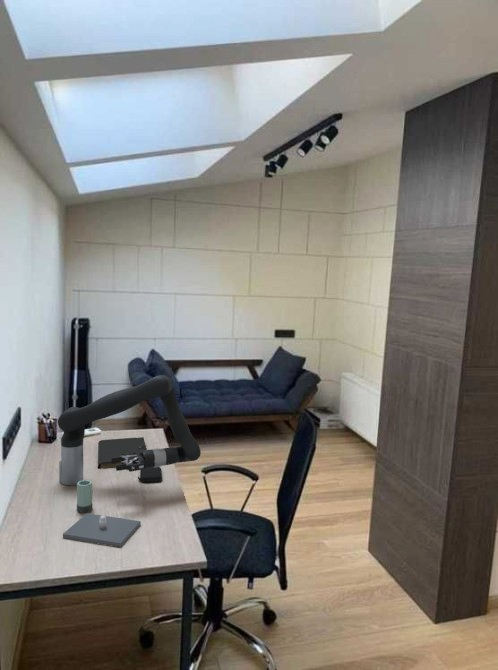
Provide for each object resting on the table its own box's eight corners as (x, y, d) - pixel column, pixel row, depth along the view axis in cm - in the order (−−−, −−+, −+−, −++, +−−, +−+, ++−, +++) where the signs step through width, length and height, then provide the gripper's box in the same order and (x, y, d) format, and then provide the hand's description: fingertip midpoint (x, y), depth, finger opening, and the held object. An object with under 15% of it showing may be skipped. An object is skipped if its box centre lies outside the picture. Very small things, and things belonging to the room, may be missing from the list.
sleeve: (74, 511, 195) (74, 484, 194) (82, 505, 200) (81, 479, 199) (87, 513, 194) (87, 486, 193) (94, 507, 199) (94, 481, 198)
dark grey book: (149, 458, 244) (97, 462, 237) (149, 466, 245) (97, 470, 238) (143, 436, 276) (98, 439, 269) (143, 443, 276) (98, 447, 269)
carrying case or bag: (138, 471, 237) (137, 484, 223) (138, 465, 237) (137, 478, 222) (160, 470, 239) (162, 483, 225) (161, 464, 239) (162, 477, 224)
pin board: (62, 537, 176) (62, 522, 175) (87, 516, 191) (87, 502, 191) (120, 547, 171) (120, 531, 171) (140, 525, 187) (140, 509, 186)
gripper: (148, 444, 214) (109, 449, 206) (158, 455, 201) (117, 461, 194) (148, 461, 214) (109, 467, 207) (158, 473, 202) (117, 480, 194)
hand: (113, 464), depth 200 cm, fingers open, 8 cm apart
